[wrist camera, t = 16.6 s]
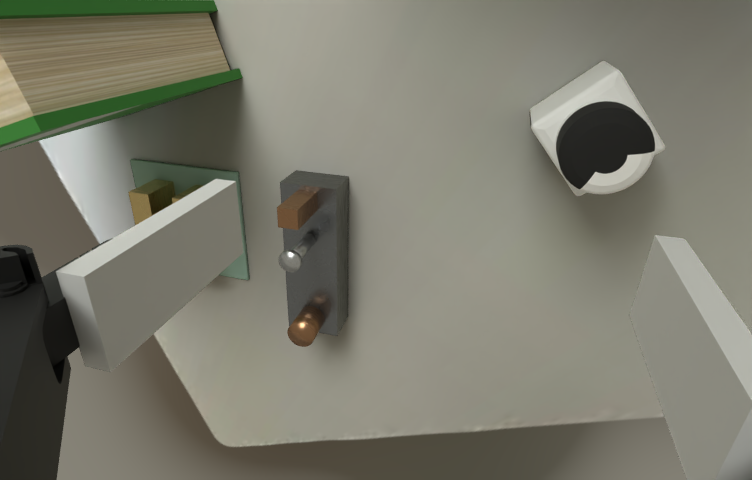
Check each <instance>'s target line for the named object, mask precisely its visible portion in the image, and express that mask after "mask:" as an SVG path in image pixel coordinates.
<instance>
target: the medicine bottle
mask: <svg viewBox="0 0 752 480" xmlns="http://www.w3.org/2000/svg"><path fill="white" fill-rule="evenodd" d="M530 123H531V129H532V131H533V133H534V134H535V136H536V137H537V139H538V140H539V142H540V143H541V145H542V146H543V148H544V149H545V151H546V152H547V154H548V155H549V157H550V158H551V160H552V161H553V163H554V164H555V166H556V167H557V169H558V170H559V172H560V173H561V175H562V176H563V178H564V179H565V181H566V182H567V184H568V185H569V187H570V189H571V190H572V192H573V193H574V194H575V195H576V196H581V195H583V194H585V193H591V194H611V193H615V192H618V191H621V190H624V189H626V188H628V187H630V186H631V185H633V184H634V183H636V182H637V181H638V180H639V179H640V178H641V177H642V176H643V175H644V174H645V173H646V171H647V170H648V168H649V166H650V165H651V163H652V160H653V157H654V156H655V155H657V154H659V153H661V152H662V151H663V150H664V149H665V144H664V143H663V141H662V139H661V138H660V136H659V134H658V133H657V131H656V129H655V128H654V126H653V124H652V123H651V121H650V119H649V118H648V116H647V114H646V113H645V111H644V109H643V108H642V106H641V104H640V103H639V101H638V99H637V98H636V96H635V94H634V93H633V91H632V89H631V88H630V86H629V84H628V83H627V81H626V79H625V78H624V76H623V74H622V73H621V72H620V71H619V70H618V69H616V68H615V67H613V66H612V65H610V64H609V63H607V62H606V61H602V62H600V63H598V64H597V65H595V66H594V67H592V68H591V69H589V70H588V71H586V72H585V73H583V74H582V75H580V76H579V77H577V78H576V79H574V80H573V81H571V82H570V83H568V84H567V85H565V86H564V87H562V88H561V89H559V90H558V91H556V92H555V93H553V94H552V95H550V96H549V97H547V98H546V99H544V100H543V101H541V102H540V103H538V104H537V105H535V106H533V107H532V108H531V109H530Z"/></svg>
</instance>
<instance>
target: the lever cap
mask: <svg viewBox="0 0 752 480" xmlns="http://www.w3.org/2000/svg"><path fill="white" fill-rule="evenodd" d="M203 186H204V185H194V186H192V187H191V188H189V189H187V190H185V191H183V192H182V193H180V194H178V195H176V194H175V188H174V182H173V181H166V180H158V179H154V180H152V181H150V182H148V183H146V184H144V185H142V186H140V187H138V188H136V189H133V190H131V191H129V197H130V202H131V206H132V211H133V216H134V220H135V225H137V224H139V223H140V222H142V221H144V220H146V219H147V218H149V217H151V216H153V215H154V214H156V213H158V212H159V211H161V210H163V209H165V208H166V207H168V206H170V205H172V204H173V203H175V202H177V201H179V200H180V199H182V198H184V197H185V196H187V195H189V194H191V193H192V192H194V191H196V190H198V189H199V188H201V187H203Z"/></svg>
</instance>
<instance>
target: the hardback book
mask: <svg viewBox="0 0 752 480" xmlns="http://www.w3.org/2000/svg"><path fill="white" fill-rule="evenodd" d="M215 11H218V10H217V7H216V5H215V2H214V0H0V151H4V150H7V149H11V148H14V147H18V146H21V145H25V144H28V143H32V142H35V141H39V140H42V139H46V138H50V137H53V136H57V135H60V134H64V133H67V132H71V131H74V130H78V129H81V128H85V127H88V126H92V125H95V124H99V123H102V122H106V121H109V120H113V119H116V118H119V117H122V116H125V115H129V114H132V113H135V112H138V111H141V110H144V109H147V108H150V107H153V106H156V105H159V104H163V103H166V102H169V101H172V100H175V99H178V98H181V97H184V96H187V95H190V94H193V93H197V92H200V91H203V90H206V89H209V88H212V87H215V86H218V85H221V84H224V83H227V82H231V81H234V80H237V79H240V78H243V77H242V75H241V72H240V69H234V70H230V69H229V66H228V63H227V61H226V58H225V55H224V53H223V50H222V47H221V45H220V42H219V40H218V37H217V34H216V32H215V29H214V26H213V24H212V21H211V19H210V16H209V14H210V13H213V12H215Z"/></svg>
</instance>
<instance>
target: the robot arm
mask: <svg viewBox="0 0 752 480" xmlns="http://www.w3.org/2000/svg"><path fill="white" fill-rule="evenodd" d="M242 253H243V243H242V234H241V224H240V215H239V205H238V196H237V186H236V181H229V180H221V179H215V180H213V181H211V182H210V183H208V184H206V185H204V186H203V187H201V188H199V189H198V190H196V191H194V192H192V193H191V194H189V195H187V196H185V197H184V198H182V199H180V200H179V201H177V202H175V203H173V204H172V205H170V206H168V207H166V208H165V209H163V210H161V211H159V212H158V213H156V214H154V215H153V216H151V217H149V218H147V219H146V220H144V221H142V222H140V223H139V224H137V225H135V226H134V227H132V228H130V229H128V230H127V231H125V232H123V233H121V234H120V235H118V236H116V237H115V238H112V239H109V240H106V241H105V242H103V243H101V244H99V245H98V246H96V247H94V248H93V249H92V251H87V252H86V253H84V254H82V255H80V258H75V259H74V260H72V261H70V262H68V263H66V264H65V265H63V266H61V267H59V268H58V269H56V270H54V271H52V272H51V273H49V274H47V275H46V276H44V277H42V278H41V275H40V272H39V269H38V266H37V262H36V260H35V257H34V254H33V250H32V248H30V247H27V246H23V245H8V246H1V247H0V480H56V478H57V471H58V463H59V456H60V447H61V440H62V433H63V432H62V431H63V425H64V417H65V409H66V402H67V394H68V386H69V378H70V370H71V367H70V363H69V360H68V357H67V356H68V355H69V354H71V353H72V352H73V351H75V350H76V349H77V348H78V347H79V348H80V352H81V355H82V358H83V361H84V365H85V366H87V367H91V368H95V369H99V370H103V371H108V372H112V371H113V370H114V369H115V368H116V367H117V366H118V365H119V364H120V363H122V362H123V361H124V360H125V359H126V358H127V357H128V356H129V355H130V354H132V353H133V352H134V351H135V350H136V349H137V348H138V347H139V346H140V345H141V344H143V343H144V342H145V341H146V340H147V339H148V338H149V337H150V336H151V335H153V334H154V333H155V332H156V331H157V330H158V329H159V328H160V327H161V326H163V325H164V324H165V323H166V322H167V321H168V320H169V319H170V318H171V317H173V316H174V315H175V314H176V313H177V312H178V311H179V310H180V309H181V308H182V307H184V306H185V305H186V304H187V303H188V302H189V301H190V300H191V299H192V298H194V297H195V296H196V295H197V294H198V293H199V292H200V291H201V290H202V289H204V288H205V287H206V286H207V285H208V284H209V283H210V282H211V281H212V280H214V279H215V278H216V277H217V276H218V275H219V274H220V273H221V272H222V271H224V270H225V269H226V268H227V267H228V266H229V265H230V264H231V263H232V262H233V261H235V260H236V259H237V258H238V257H239V256H240V255H241V254H242ZM629 316H630V319H631V322H632V325H633V328H634V331H635V334H636V337H637V339H638V342H639V345H640V348H641V351H642V354H643V357H644V359H645V362H646V365H647V368H648V371H649V374H650V377H651V379H652V382H653V385H654V388H655V391H656V394H657V397H658V399H659V402H660V405H661V408H662V411H663V414H664V417H665V419H666V422H667V425H668V428H669V431H670V434H671V436H672V439H673V442H674V445H675V448H676V451H677V454H678V457H679V459H680V462H681V465H682V468H683V471H684V474H685V476H686V479H687V480H752V334H751V332H750V331H749V330H748V328H747V327H746V325H745V324H744V322H743V321H742V320H741V318H740V317H739V315H738V314H737V312H736V311H735V310H734V308H733V307H732V305H731V304H730V302H729V301H728V300H727V298H726V297H725V295H724V294H723V292H722V291H721V290H720V288H719V287H718V285H717V284H716V282H715V281H714V280H713V278H712V277H711V275H710V274H709V272H708V271H707V270H706V268H705V267H704V265H703V264H702V262H701V261H700V260H699V258H698V257H697V255H696V254H695V252H694V251H693V250H692V248H691V247H690V245H689V244H688V242H687V241H686V240H685V239H683V238H676V237H668V236H660V235H655V236H654V239H653V242H652V245H651V249H650V252H649V255H648V258H647V261H646V264H645V267H644V270H643V273H642V277H641V280H640V283H639V286H638V289H637V292H636V295H635V298H634V301H633V304H632V308H631V311H630V314H629Z"/></svg>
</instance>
